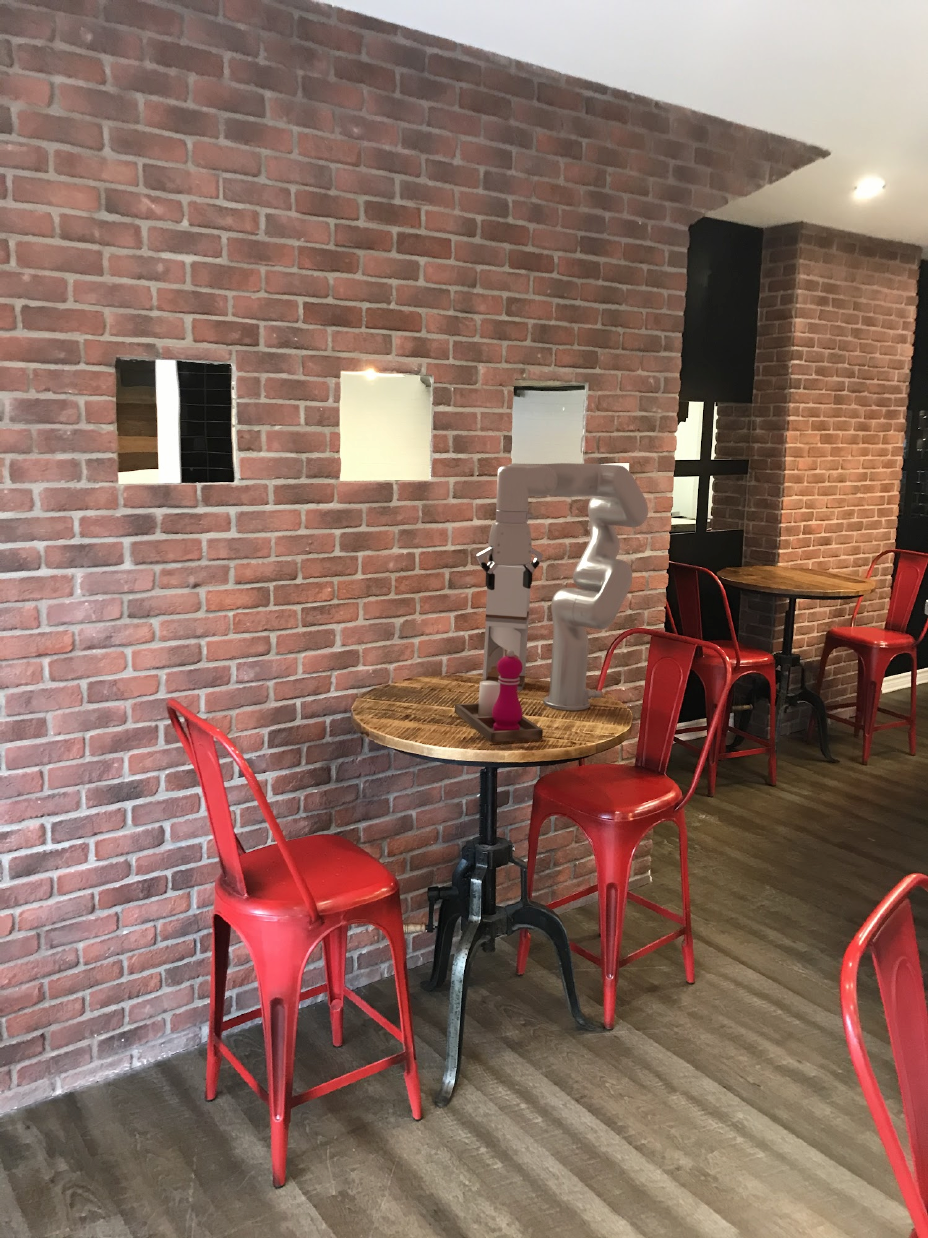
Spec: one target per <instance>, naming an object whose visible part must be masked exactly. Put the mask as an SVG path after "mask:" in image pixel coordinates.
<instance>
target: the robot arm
mask: <svg viewBox="0 0 928 1238" xmlns="http://www.w3.org/2000/svg"><path fill="white" fill-rule="evenodd" d="M496 478H497V480H496V481H497V483H496V504H495V505H496V509H495V510H496V511H495V522H492V524H491V527H490V532H489V537H488V544H487V548H486V549H484V550H482V551H480V552H478V553H477V554H476V556H475V558H476V560H477V562H478V563H479V564H478V565H479V567H481V569H482V570H483V571H484V572H485V586H486V590H487V589H490V590H494V589H495V574H493V572H494V570H495V569H496V568H497V567H498V565H499V566H511V565H523V567H524V568H525V571H524V572H523V587H525V588H527V589H530V588H532V584H533V573H535V571H536V569H537V568H538V567H539V566H540V564H541V561H542V559H543V557H544V554H543V552H541V551H538V550H537V549H535V548H533V547H532V533H531V527H530V524H529V523H528V522H529V519H532V518H533V514H532V512H529V509H528V507H529V496H531V497H546V496H552V497H561V498H564V497H565V498H575V497H577V498H581V497H582V498H583V497H585V498H586V497H588V498H589V497H591V498H590V499H589V502H588V505H587V514H588V519H589V524H590V538H589V541H588V543H587V545H586V548H585V549H584V551H583V553H582V555H581V557H580V559H579V560H578V561H577V564H576V567H575V568H574V571H573V574H572V580H573V583H574V585H575V586H577V587H578V588H575V587H565V588H561V589H560V590H558V591H556V592H555V594H554V595H553V597H552V599H551V604H550V606H551V607H550V608H551V616H552V618H551V619H552V627H553V628H552V629H553V630H552V633H553V634H552V646H551V647H552V649H551V650H552V651H551V663H550V678H549V679H550V680H549V692H548V693H549V694H548V695H546V696H545V697H543V699H542V703H543V705H545V706H546V707H548V708H551V709H555V710H561V711H582V710H587V709H589V708H590V706H591V701H590V700H591V699H592V698H593V699H601V697H602V696H603V695H602V691H601V690H593V689H588V688H586V687H587V686H586V684H587V670H588V660H589V659H588V658H589V657H588V656H589V646H590V645H589V643H590V642H589V637H588V636H589V635H588V633H587V631H586V630H587V629H586V628H588V629H594V630H606V629H607V628H609V627H610V626H611V625H612V624H613V622H614V621H615V619H616V617H617V615H618V613H619V611H620V609H621V607H622V605H623V603H624V601H625V600H626V597H627V596H628V593H629V591H630V589H631V587H632V582H633V570H632V568H631V566H630V564H629V563H628V562H627V561H625V560H622V559H620V558H617V557H618V555H619V553H620V549H621V543H620V539H619V537H618V534H617V531H616V529H615V527H616V526H617V527H625V528H626V527H627V528H638V527H641V526H642V525H643V524H644V523H646V521H647V519H648V515H649V507H648V502H647V499H646V497H645V496H644V493H643V492H642V490H641V488H640V486H639V484H638V482H637V480H636V479H635V477H634V476H633V475H632V473H631V472H630V470H629V469H627V468H626V467H625V466H624V465H623V466H622V465H619V464H601V463H572V462H570V463H569V462H567V463H565V462H563V463H562V462H560V463H559V462H558V463H556V462H555V463H511V464H510V463H509V464H508V465H502V466H500V467H499V468H498V470H497V477H496ZM533 556H534V559H533V560H532V557H533ZM486 557H487V559H486V560H487V562H488V563H487V562H486V560H485V558H486ZM530 590H531V589H530Z"/></svg>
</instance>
